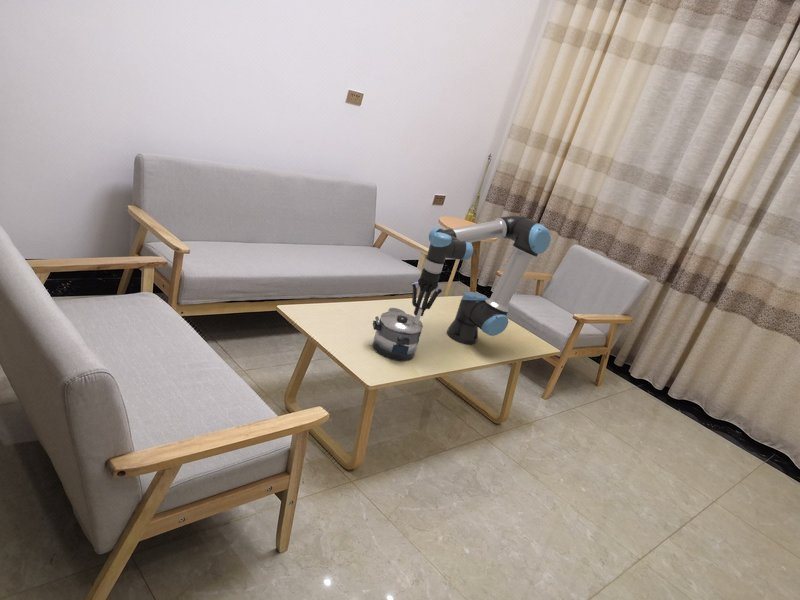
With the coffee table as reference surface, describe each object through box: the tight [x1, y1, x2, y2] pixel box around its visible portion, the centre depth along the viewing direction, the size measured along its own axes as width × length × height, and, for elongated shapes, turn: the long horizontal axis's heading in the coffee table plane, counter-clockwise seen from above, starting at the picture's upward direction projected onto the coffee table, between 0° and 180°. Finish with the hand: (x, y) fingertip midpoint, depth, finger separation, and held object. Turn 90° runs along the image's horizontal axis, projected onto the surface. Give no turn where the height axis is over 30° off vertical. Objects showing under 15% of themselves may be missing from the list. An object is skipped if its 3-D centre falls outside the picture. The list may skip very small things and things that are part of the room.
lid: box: [375, 311, 424, 334], centre depth 225 cm, size 20×18×4 cm
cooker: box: [372, 320, 422, 362], centre depth 228 cm, size 20×23×12 cm
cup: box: [387, 307, 406, 313], centre depth 246 cm, size 8×8×10 cm
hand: (415, 322), depth 227 cm, fingers closed
